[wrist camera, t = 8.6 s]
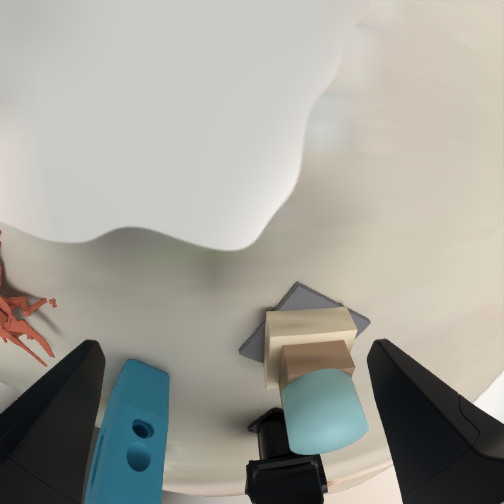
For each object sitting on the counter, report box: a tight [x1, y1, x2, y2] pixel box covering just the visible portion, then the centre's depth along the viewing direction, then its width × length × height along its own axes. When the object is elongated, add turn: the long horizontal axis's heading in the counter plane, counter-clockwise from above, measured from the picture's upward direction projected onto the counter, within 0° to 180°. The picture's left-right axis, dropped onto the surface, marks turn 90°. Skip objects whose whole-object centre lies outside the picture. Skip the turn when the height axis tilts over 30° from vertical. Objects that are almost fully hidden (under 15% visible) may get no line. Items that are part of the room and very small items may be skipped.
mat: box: [239, 282, 371, 363], centre depth 26 cm, size 9×9×1 cm
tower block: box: [278, 340, 355, 410], centre depth 21 cm, size 5×5×3 cm
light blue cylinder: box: [282, 369, 369, 455], centre depth 18 cm, size 6×6×4 cm
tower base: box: [263, 307, 358, 390], centre depth 24 cm, size 7×7×3 cm
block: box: [85, 359, 169, 504], centre depth 20 cm, size 12×5×20 cm, turn 146°
